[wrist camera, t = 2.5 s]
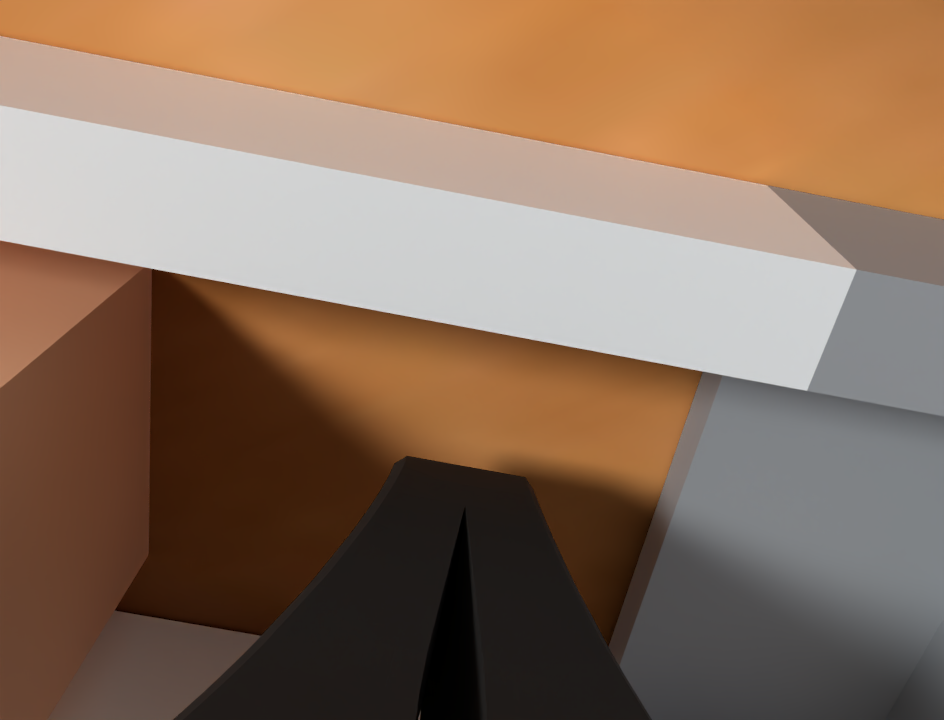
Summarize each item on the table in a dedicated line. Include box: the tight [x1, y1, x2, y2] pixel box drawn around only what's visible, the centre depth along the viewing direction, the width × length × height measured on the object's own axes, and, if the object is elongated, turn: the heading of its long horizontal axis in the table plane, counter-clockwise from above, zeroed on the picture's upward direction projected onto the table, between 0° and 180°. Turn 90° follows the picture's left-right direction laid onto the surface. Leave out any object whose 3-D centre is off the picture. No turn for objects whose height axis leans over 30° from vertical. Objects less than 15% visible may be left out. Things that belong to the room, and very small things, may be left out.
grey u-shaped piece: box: [609, 185, 944, 720], centre depth 9 cm, size 4×8×2 cm, turn 170°
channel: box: [0, 36, 857, 720], centre depth 9 cm, size 10×8×2 cm
